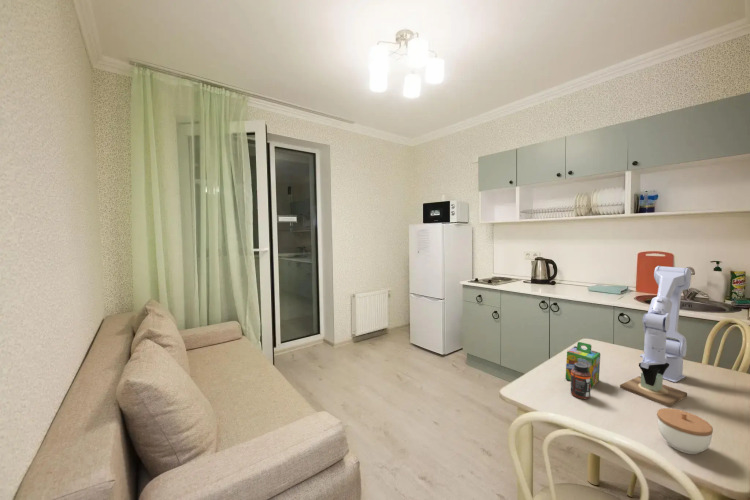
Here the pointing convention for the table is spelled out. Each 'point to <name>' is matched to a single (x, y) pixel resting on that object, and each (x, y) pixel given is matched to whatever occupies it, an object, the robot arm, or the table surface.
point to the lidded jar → (684, 430)
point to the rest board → (654, 392)
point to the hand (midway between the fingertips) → (653, 382)
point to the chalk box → (583, 361)
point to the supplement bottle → (580, 381)
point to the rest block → (656, 386)
